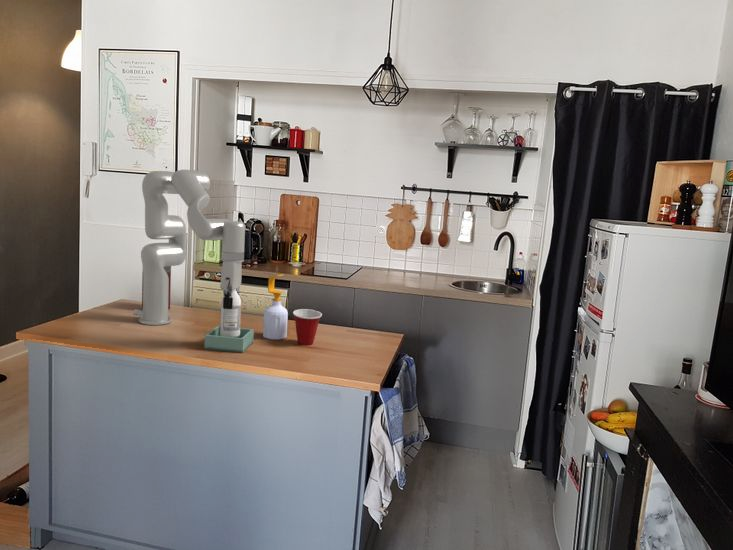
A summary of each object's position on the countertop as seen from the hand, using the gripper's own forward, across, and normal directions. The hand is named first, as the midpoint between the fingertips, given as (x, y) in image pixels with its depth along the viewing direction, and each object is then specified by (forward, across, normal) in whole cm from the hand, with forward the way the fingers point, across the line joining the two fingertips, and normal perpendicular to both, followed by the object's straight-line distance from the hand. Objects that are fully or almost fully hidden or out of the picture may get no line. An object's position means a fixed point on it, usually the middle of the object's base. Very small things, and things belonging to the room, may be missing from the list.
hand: (231, 306), depth 206 cm
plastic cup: (+15, -12, +26) cm, 32 cm away
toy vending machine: (+15, -43, -46) cm, 64 cm away
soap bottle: (+15, -17, +12) cm, 26 cm away
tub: (+15, 0, 0) cm, 15 cm away
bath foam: (+11, 0, 0) cm, 11 cm away
